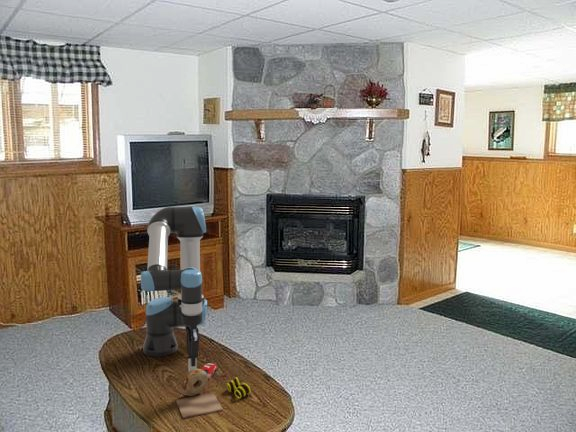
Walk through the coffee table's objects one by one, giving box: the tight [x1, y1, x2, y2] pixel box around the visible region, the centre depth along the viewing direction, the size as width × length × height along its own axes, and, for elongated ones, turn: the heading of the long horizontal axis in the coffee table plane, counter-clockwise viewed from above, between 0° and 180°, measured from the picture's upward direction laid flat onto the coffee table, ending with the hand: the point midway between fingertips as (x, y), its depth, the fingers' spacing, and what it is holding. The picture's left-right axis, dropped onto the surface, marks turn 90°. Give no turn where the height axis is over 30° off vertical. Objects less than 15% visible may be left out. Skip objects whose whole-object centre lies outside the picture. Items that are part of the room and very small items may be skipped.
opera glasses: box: [226, 376, 251, 400], centre depth 185 cm, size 10×5×5 cm, turn 39°
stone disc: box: [180, 368, 209, 397], centre depth 182 cm, size 10×4×10 cm, turn 128°
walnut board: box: [175, 392, 224, 419], centre depth 175 cm, size 12×14×1 cm
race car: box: [200, 363, 218, 382], centre depth 197 cm, size 13×5×4 cm, turn 165°
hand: (192, 372), depth 183 cm, fingers closed
